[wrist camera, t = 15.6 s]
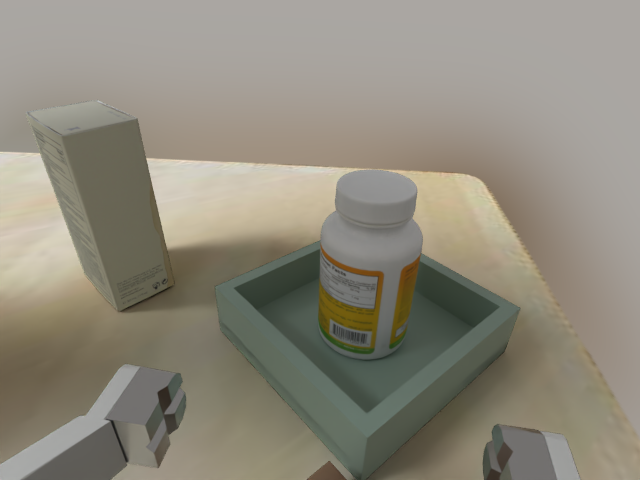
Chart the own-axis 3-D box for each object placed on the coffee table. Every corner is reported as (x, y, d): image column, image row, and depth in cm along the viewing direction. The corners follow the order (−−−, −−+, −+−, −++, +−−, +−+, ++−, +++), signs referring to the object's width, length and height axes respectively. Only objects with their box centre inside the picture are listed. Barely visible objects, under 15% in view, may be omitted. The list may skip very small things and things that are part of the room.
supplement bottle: (382, 294, 29) (401, 159, 24) (421, 351, 25) (454, 202, 20) (306, 308, 28) (309, 168, 23) (334, 372, 23) (345, 216, 18)
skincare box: (176, 286, 31) (144, 119, 24) (115, 315, 28) (60, 136, 22) (136, 251, 35) (98, 97, 28) (79, 273, 32) (22, 109, 25)
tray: (220, 329, 27) (214, 286, 25) (359, 259, 34) (363, 221, 33) (360, 483, 19) (367, 437, 18) (504, 350, 26) (520, 307, 25)
